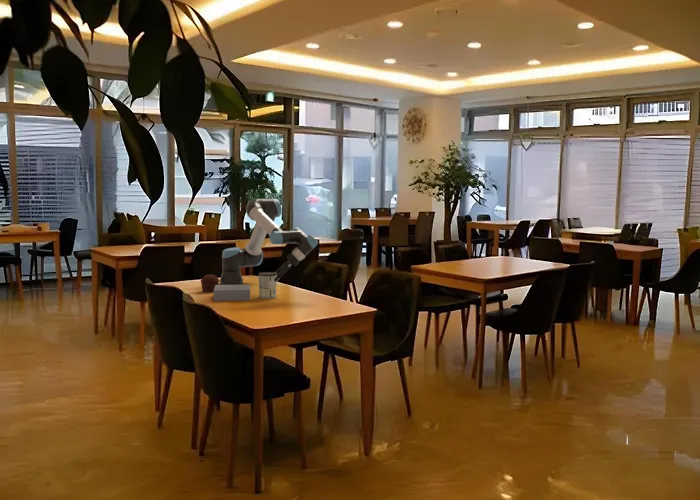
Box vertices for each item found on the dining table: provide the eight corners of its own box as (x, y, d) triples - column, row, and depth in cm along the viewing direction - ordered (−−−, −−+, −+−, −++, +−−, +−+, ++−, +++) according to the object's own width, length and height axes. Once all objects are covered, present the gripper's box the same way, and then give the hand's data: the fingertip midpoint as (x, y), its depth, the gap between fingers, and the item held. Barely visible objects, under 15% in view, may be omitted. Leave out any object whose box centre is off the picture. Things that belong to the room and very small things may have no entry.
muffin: (214, 293, 397) (214, 276, 396) (197, 292, 400) (197, 275, 399) (222, 290, 409) (222, 274, 408) (205, 289, 411) (205, 273, 410)
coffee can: (260, 295, 390) (260, 271, 389) (278, 296, 389) (278, 272, 388) (256, 298, 380) (256, 274, 379) (274, 298, 379) (274, 274, 378)
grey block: (215, 295, 390) (215, 285, 390) (250, 294, 393) (250, 284, 393) (213, 300, 370) (213, 290, 370) (250, 300, 373) (250, 289, 373)
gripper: (302, 263, 373) (275, 290, 372) (298, 259, 397) (273, 284, 396) (292, 254, 371) (265, 281, 370) (289, 250, 396) (264, 275, 395)
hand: (269, 283), depth 383 cm, fingers open, 13 cm apart
